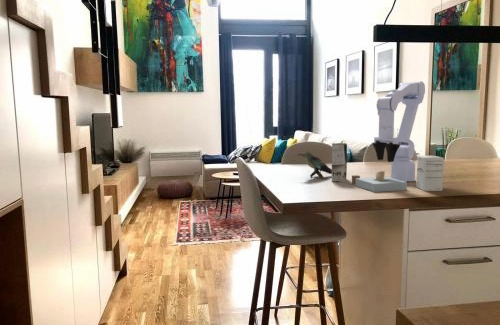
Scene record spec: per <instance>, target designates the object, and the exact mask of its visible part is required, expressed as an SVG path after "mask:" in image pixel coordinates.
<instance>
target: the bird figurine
mask: <svg viewBox="0 0 500 325" xmlns="http://www.w3.org/2000/svg"><path fill="white" fill-rule="evenodd" d="M297 156H301V157H303V158H304V161H305V162H306V164H307V166H308V167H309V168H312V169H313V172H311V174H310V175H309V176H310V178H313V177H314V176H315V175H317V177H318V178H320V179H321V180H322V179H324V176H323V173H321V172H324V173H327V174H329V175H332V168H331V167H329V166H328V165H327V164H326V163H325V162H323V160H322V159H321V158H320V157H317V156H316V155H314V154H312V153H311V152H310V151H309V150H304V151H303V152H301V153H298V154H297Z"/></svg>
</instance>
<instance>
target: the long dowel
mask: <svg viewBox="0 0 500 325" xmlns="http://www.w3.org/2000/svg"><path fill="white" fill-rule="evenodd" d="M385 173H386V172H385V171H384V170H376V171H375V177H376V181H384V177H386V176H385Z"/></svg>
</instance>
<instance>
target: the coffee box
mask: <svg viewBox="0 0 500 325" xmlns="http://www.w3.org/2000/svg"><path fill="white" fill-rule="evenodd" d="M347 166H348V144H347V143H346V142H337V143H334V142H333V143H331V169H332V174H331V182H336V181H339V182H341V183H346V182H347V175H348V174H347V169H348V167H347Z"/></svg>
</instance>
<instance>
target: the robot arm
mask: <svg viewBox="0 0 500 325" xmlns="http://www.w3.org/2000/svg"><path fill="white" fill-rule="evenodd" d="M425 94H426V85H425V83H424V81H422V80H421V81H412V82H403V81H402V82H400V83H399V84H398V88H397V89H396V88H395V89H394V88H393V89H391V91H390V92H388V93H387V94H386V95H385V96H381V97H379V98H378V99H377V102H376V111H377V116H378V136H375V137H373V139H374V142H373V143H372V146H373V148H374V151H375V154H376V159H377V160H378V161H383V160H384V156H385V150H386V158H387V163H390V178H393V179H397V180H401V181H405V182H417V179H416V164H415V161H414V160H412V159H413V158H414V154H415V143H414V141H413V140H411V139H410V138H411V134H412V130H413V126H414V123H415V120H416V115H417V112H418V108H419V105H420V104H422V103H423V100H424V97H425ZM401 103H402V104H403V105H405V109H404V112H403V116H402V119H401V123H400V125H399V126H400V127H399V129H398V130H399V131H398V133H397V137H394V132H395V131H394V130H395V129H394V128H395V111H397V108H398V106H399V104H401Z"/></svg>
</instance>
